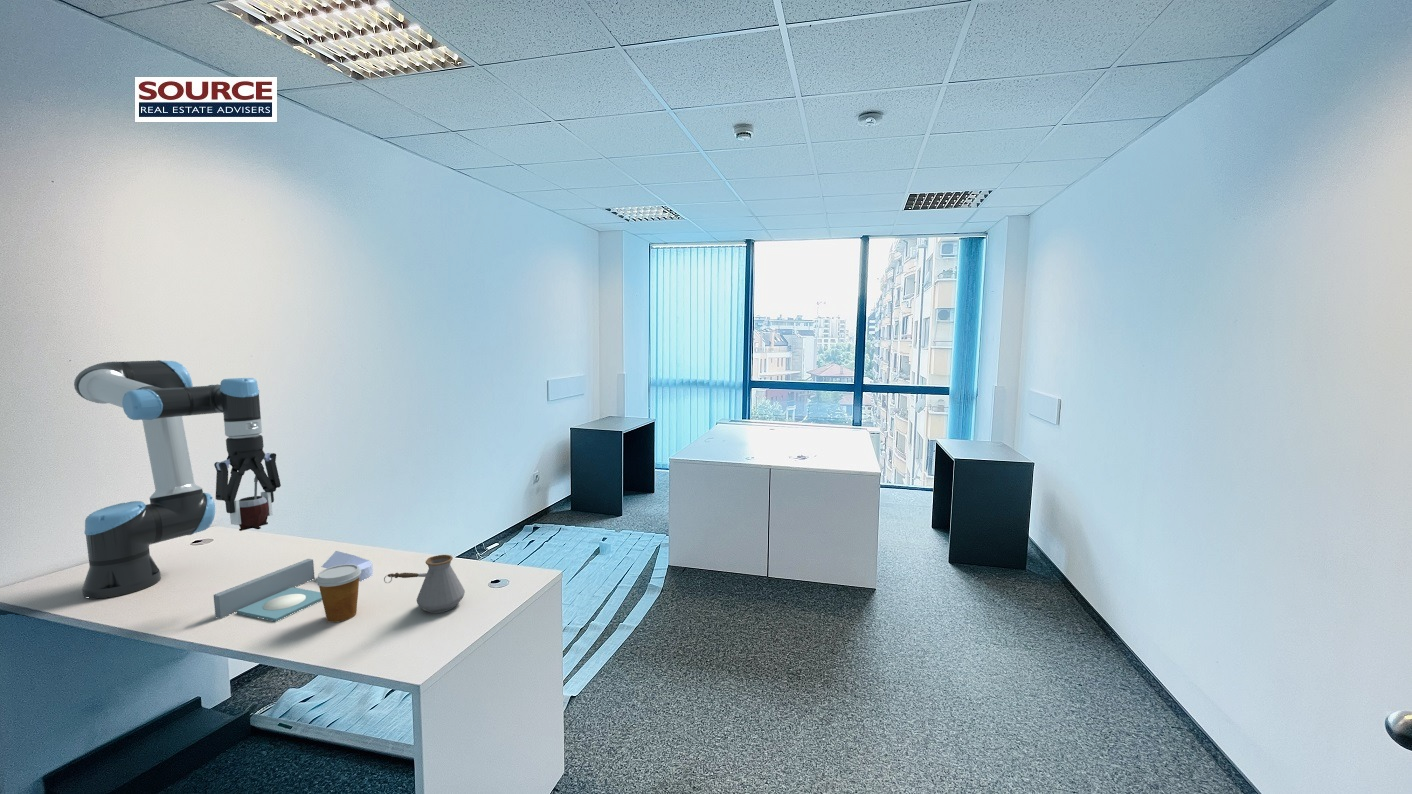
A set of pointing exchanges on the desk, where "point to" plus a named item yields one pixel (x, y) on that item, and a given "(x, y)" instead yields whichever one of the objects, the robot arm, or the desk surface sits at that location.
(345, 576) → the disposable coffee cup
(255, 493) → the mate gourd
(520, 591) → the desk surface
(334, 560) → the wedge on round base
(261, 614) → the mat
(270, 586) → the low wall
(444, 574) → the coffee pot
